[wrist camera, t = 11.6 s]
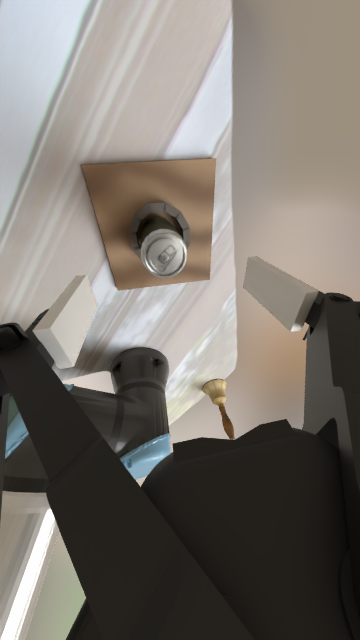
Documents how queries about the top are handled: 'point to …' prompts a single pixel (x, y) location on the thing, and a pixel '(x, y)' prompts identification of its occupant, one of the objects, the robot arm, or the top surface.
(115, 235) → the collar holder
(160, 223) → the beer can
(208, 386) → the hand bell
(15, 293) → the top surface
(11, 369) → the robot arm
